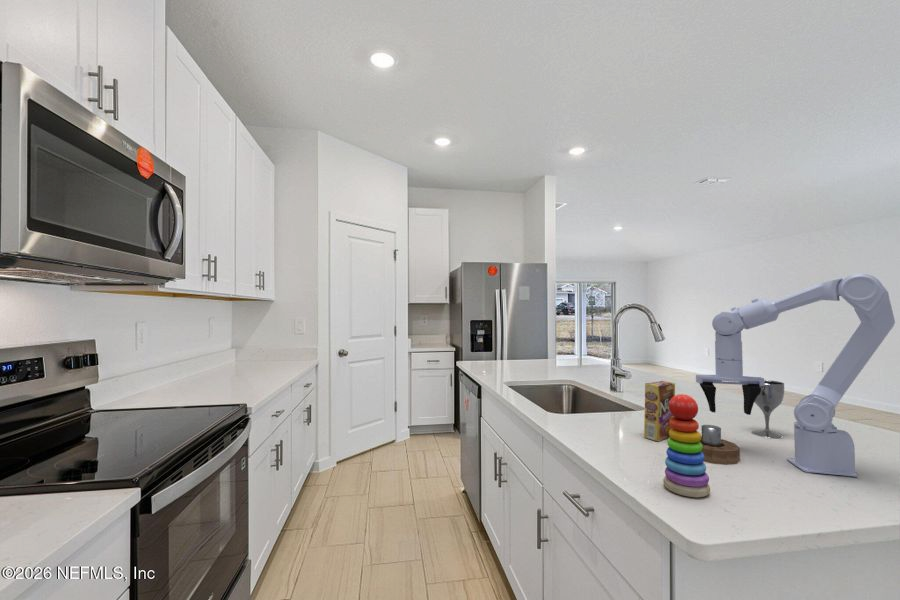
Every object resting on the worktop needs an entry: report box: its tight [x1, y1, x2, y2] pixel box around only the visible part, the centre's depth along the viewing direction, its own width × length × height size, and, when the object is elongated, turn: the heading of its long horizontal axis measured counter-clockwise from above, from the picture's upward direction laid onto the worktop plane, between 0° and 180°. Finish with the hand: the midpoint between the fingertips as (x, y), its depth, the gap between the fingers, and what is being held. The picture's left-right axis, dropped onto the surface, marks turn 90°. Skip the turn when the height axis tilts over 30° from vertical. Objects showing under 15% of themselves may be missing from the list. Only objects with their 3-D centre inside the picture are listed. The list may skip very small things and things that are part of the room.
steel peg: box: [701, 424, 722, 447], centre depth 98 cm, size 4×4×7 cm
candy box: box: [643, 380, 676, 442], centre depth 112 cm, size 9×4×15 cm, turn 123°
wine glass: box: [751, 379, 785, 439], centre depth 115 cm, size 8×8×15 cm
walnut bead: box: [700, 435, 741, 465], centre depth 98 cm, size 11×11×3 cm
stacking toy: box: [662, 393, 711, 498], centre depth 79 cm, size 8×8×19 cm
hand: (729, 412), depth 102 cm, fingers open, 7 cm apart
